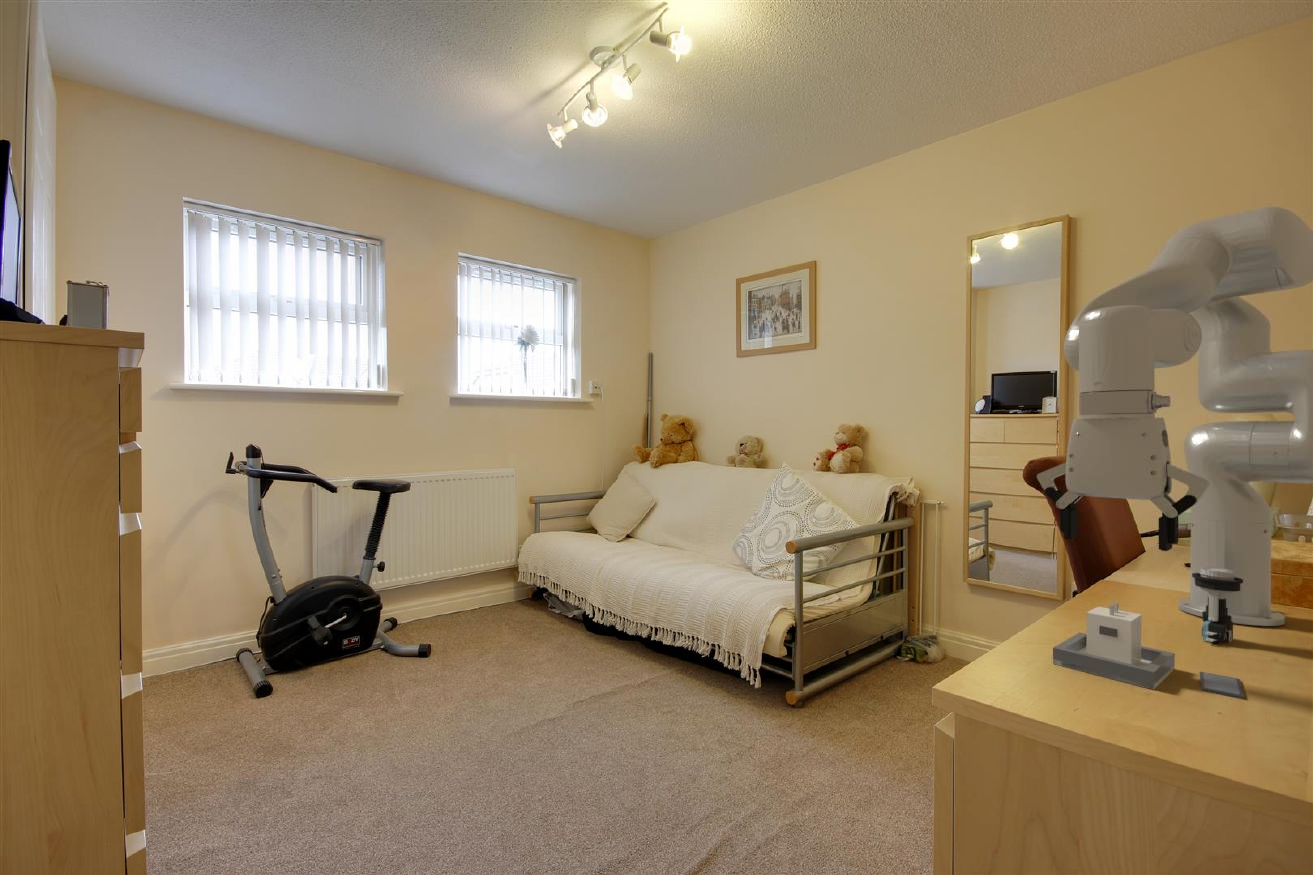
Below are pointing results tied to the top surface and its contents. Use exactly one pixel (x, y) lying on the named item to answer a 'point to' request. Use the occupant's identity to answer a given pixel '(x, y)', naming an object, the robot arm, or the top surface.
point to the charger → (1114, 634)
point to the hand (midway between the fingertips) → (1116, 543)
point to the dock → (1115, 663)
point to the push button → (1217, 602)
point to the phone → (1221, 685)
